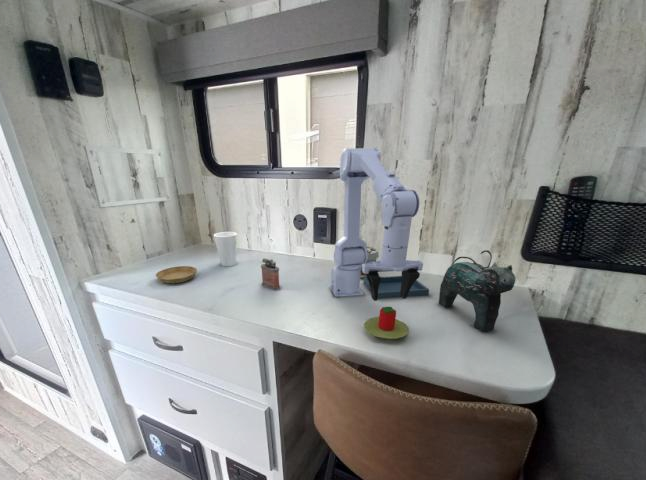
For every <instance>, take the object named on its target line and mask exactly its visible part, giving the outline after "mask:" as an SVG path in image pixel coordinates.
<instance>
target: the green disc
mask: <svg viewBox="0 0 646 480" xmlns="http://www.w3.org/2000/svg"><path fill="white" fill-rule="evenodd" d="M378 324H379V316H373V317H371V318H368V319H366V320H365V321H364V323H363V328H364V330H365V331H366V332H367V333H368V334H370V335H372V336H374V337H377V338H382V339H388V340H389V339H391V340H395V339H399V338H403V337H405V336H407V335H408V334H409V332H410V330H409V329H410V328H409V327H408V324H406V323H405V322H403V321H402V320H400V319H397V318H396V319H395V326H394V329H393V330H389V331H387V330H382V329H380V328H379V326H378Z"/></svg>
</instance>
